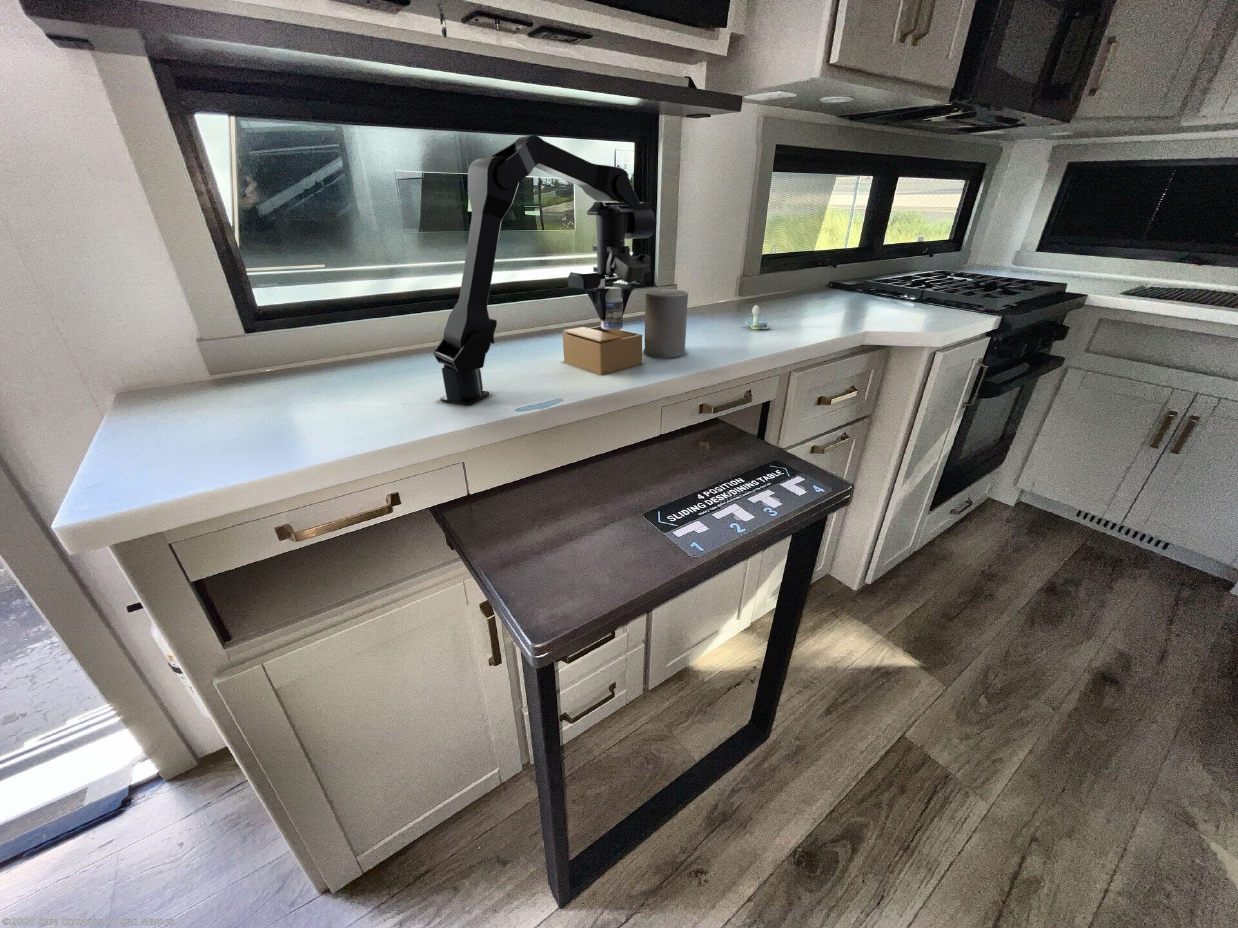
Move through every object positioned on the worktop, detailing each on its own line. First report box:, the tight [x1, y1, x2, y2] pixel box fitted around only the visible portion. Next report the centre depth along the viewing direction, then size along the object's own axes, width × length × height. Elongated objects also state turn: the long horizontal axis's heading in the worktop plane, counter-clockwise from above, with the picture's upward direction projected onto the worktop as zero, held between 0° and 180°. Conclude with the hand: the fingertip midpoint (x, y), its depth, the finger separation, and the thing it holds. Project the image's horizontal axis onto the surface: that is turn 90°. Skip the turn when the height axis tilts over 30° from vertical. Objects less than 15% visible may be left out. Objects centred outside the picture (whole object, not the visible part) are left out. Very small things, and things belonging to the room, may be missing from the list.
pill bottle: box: [600, 286, 624, 330], centre depth 108 cm, size 5×5×8 cm
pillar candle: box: [643, 285, 689, 359], centre depth 116 cm, size 10×10×15 cm
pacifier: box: [744, 304, 771, 330], centre depth 140 cm, size 7×6×6 cm
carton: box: [562, 325, 643, 376], centre depth 111 cm, size 12×13×6 cm
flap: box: [562, 326, 621, 342], centre depth 107 cm, size 6×13×1 cm, turn 42°
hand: (611, 318), depth 109 cm, fingers closed on pill bottle, 5 cm apart
